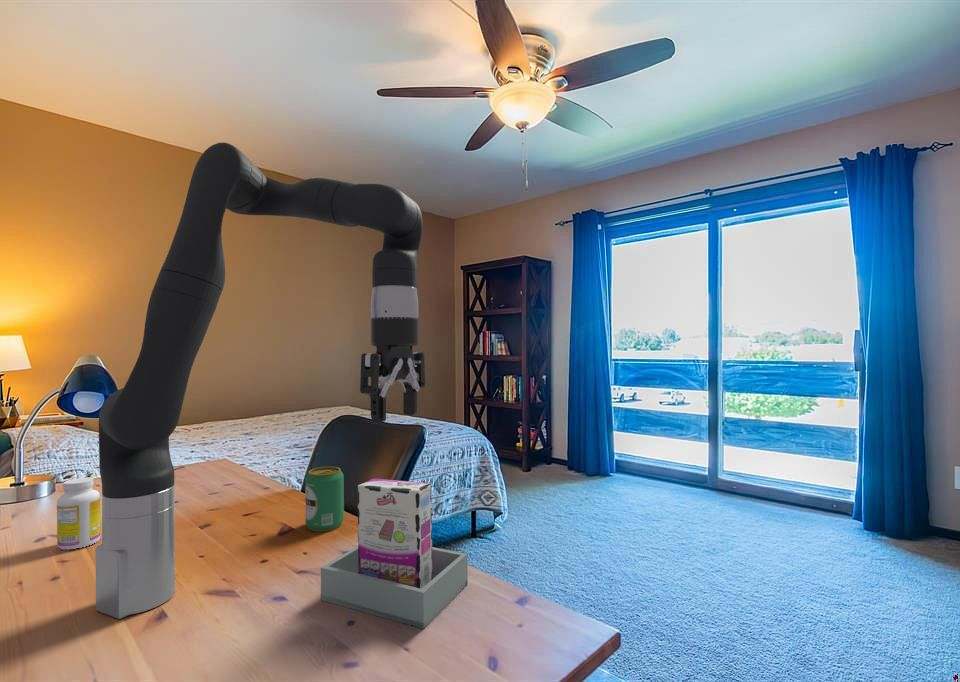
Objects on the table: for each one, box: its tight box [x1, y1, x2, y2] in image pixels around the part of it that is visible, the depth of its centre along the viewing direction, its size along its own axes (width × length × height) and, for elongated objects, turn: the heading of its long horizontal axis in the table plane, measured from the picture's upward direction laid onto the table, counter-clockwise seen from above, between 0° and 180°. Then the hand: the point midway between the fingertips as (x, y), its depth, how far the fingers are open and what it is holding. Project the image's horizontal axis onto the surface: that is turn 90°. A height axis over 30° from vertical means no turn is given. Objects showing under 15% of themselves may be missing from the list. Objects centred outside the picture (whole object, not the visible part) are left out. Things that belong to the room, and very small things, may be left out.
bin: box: [320, 545, 469, 630], centre depth 77 cm, size 14×19×5 cm
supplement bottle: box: [56, 477, 101, 549], centre depth 97 cm, size 7×7×13 cm
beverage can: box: [304, 466, 345, 533], centre depth 106 cm, size 8×8×12 cm
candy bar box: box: [357, 478, 433, 589], centre depth 77 cm, size 11×5×16 cm, turn 70°
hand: (395, 418), depth 77 cm, fingers open, 8 cm apart
